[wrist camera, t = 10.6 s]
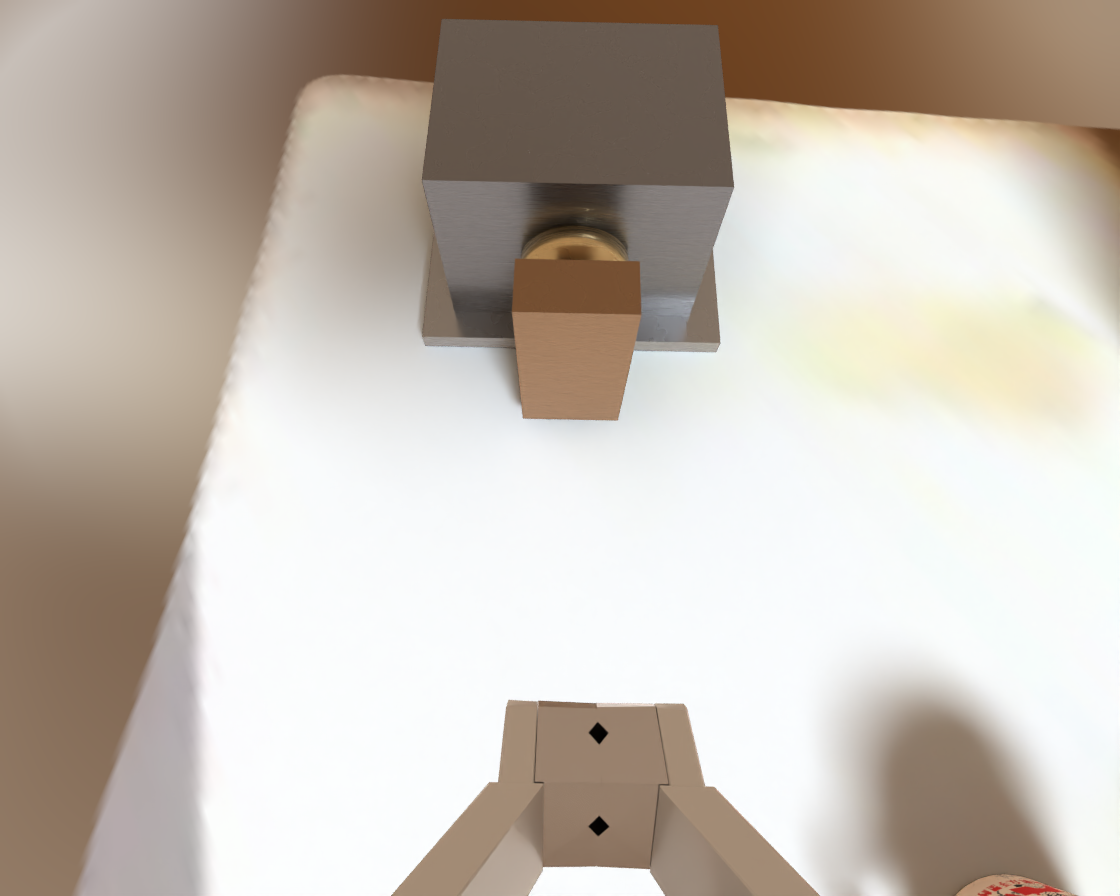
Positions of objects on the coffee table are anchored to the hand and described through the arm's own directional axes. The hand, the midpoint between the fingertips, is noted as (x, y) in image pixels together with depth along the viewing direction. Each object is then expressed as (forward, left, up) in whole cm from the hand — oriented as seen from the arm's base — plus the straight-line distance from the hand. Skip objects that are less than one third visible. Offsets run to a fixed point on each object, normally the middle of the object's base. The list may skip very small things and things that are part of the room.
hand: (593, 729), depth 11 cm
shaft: (-12, -25, -26) cm, 38 cm away
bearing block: (-13, -28, -27) cm, 42 cm away
